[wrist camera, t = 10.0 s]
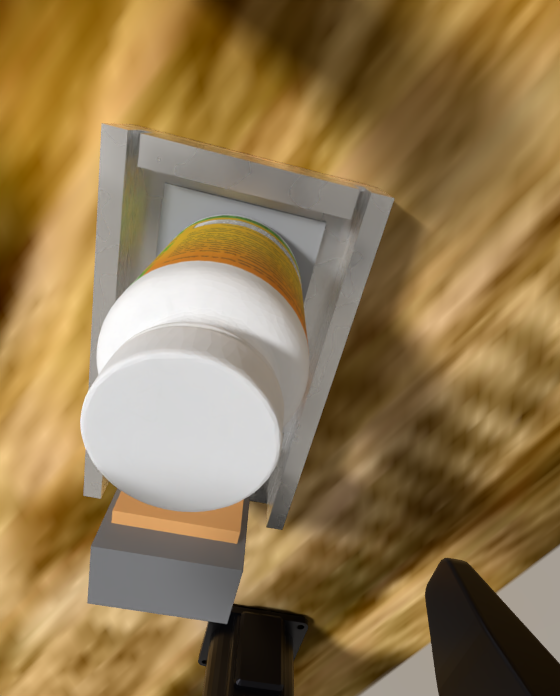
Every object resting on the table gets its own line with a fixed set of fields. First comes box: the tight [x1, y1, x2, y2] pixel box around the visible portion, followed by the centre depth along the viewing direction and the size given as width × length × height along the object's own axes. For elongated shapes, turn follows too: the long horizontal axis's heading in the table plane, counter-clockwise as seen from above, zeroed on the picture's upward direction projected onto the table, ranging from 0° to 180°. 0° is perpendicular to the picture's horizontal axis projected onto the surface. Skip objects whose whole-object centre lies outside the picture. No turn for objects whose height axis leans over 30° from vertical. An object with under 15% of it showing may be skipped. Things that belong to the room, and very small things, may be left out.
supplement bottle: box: [80, 214, 309, 512], centre depth 13 cm, size 5×5×10 cm
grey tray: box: [84, 123, 395, 624], centre depth 16 cm, size 16×10×8 cm, turn 167°
